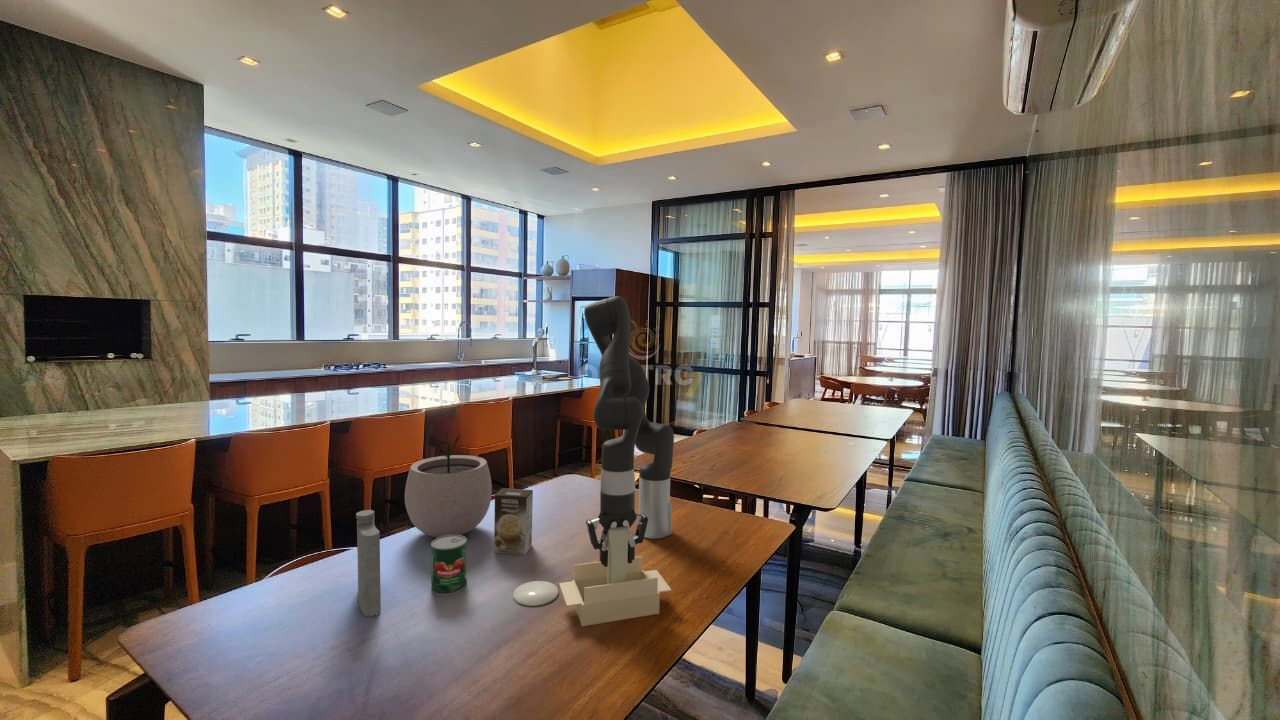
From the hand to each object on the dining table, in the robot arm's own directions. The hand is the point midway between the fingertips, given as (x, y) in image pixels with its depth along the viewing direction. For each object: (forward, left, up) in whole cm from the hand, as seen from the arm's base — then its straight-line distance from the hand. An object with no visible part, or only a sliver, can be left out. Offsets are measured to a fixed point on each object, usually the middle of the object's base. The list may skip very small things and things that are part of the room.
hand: (617, 563), depth 114 cm
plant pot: (+36, -52, -10) cm, 64 cm away
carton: (0, 0, -10) cm, 10 cm away
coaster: (+16, -10, -10) cm, 22 cm away
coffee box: (+19, -36, -10) cm, 42 cm away
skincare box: (0, 0, -4) cm, 4 cm away
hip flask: (+52, -18, -10) cm, 56 cm away
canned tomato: (+35, -19, -10) cm, 41 cm away
